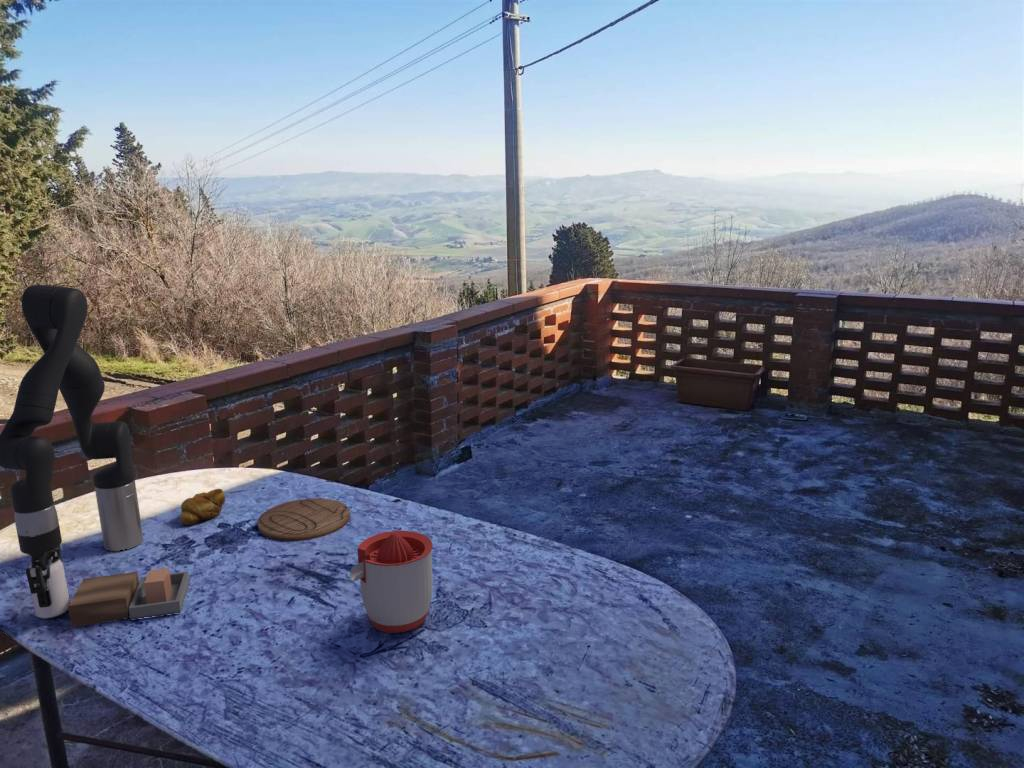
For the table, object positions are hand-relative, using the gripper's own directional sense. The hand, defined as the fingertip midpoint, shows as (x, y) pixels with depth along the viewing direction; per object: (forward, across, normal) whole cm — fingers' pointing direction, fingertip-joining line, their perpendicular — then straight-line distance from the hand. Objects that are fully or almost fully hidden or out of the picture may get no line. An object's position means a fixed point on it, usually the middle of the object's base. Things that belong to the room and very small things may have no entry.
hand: (50, 597), depth 158 cm
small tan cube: (+1, 0, +19) cm, 19 cm away
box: (+4, 0, +22) cm, 22 cm away
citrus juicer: (+5, +23, +71) cm, 75 cm away
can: (+3, 0, 0) cm, 3 cm away
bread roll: (+5, -46, +24) cm, 52 cm away
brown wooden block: (+4, 0, +10) cm, 11 cm away
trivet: (+5, -35, +53) cm, 64 cm away
